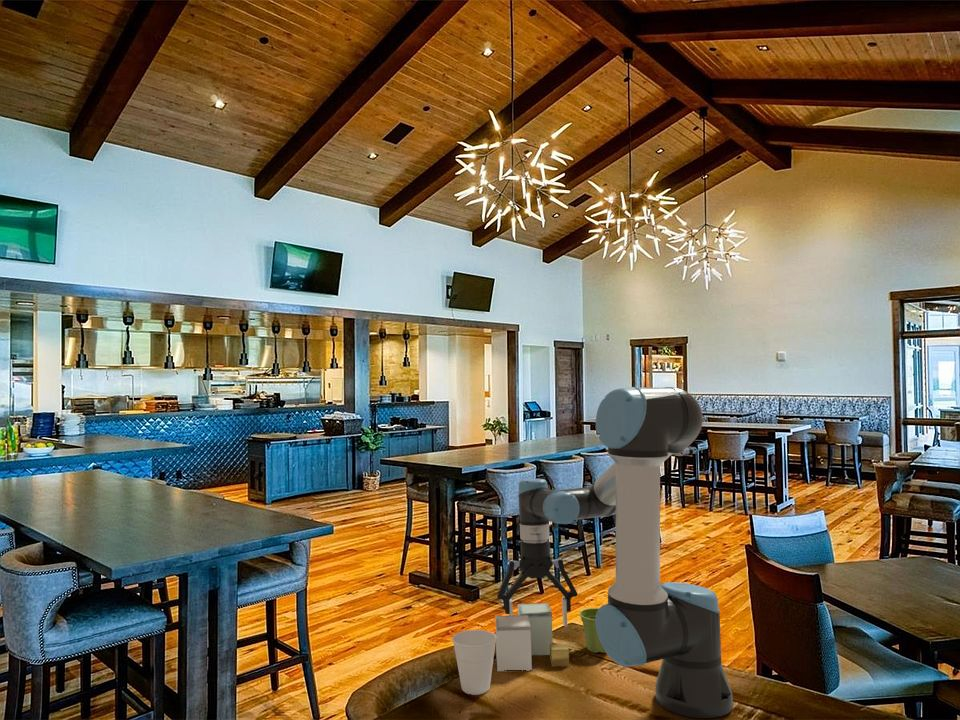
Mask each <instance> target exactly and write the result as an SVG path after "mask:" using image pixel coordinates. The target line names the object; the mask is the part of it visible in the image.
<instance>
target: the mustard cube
mask: <svg viewBox="0 0 960 720" xmlns="http://www.w3.org/2000/svg"><path fill="white" fill-rule="evenodd" d="M569 651H570V650H569V646H568V644H567V643H566V642H553V643H550V655H549V659H550V660H551V661H550V663H551V667H552V666H561V667H570V652H569Z"/></svg>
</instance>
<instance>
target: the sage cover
mask: <svg viewBox="0 0 960 720" xmlns="http://www.w3.org/2000/svg"><path fill="white" fill-rule="evenodd" d="M552 613H553V612H552V610H551V606H550V605H549V603H547V602H546V603H545V602H541V603H517V615H528V618H529V622H530V627H531V656H550V643H554V642H553V640H554V637H553V614H552Z"/></svg>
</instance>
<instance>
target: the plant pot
mask: <svg viewBox="0 0 960 720" xmlns="http://www.w3.org/2000/svg"><path fill="white" fill-rule="evenodd" d="M599 608H600V607H593V608H592V607H590V608H584V609H581V610H580V611H579V613H578V615H579V617H580V618H581V622H582V626H583V633H584V638H585V639H584V640H585V645H586V649H587V651H590V652H591V653H595V654H596V653H602V654H605V653H606V652H605V650H604V648H603V646H602V645H601V643H600V640H599V637H598V634H597V630H596V624H595V618H596V613H597V611H598V610H599ZM606 654H607V653H606Z"/></svg>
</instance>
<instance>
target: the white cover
mask: <svg viewBox="0 0 960 720" xmlns="http://www.w3.org/2000/svg"><path fill="white" fill-rule="evenodd" d="M494 617H495V635H496V636H497V640H496V643H495V649H496V652H495V653H496V654H495V656H496V669H497V672H507V671H506V670H522V671H521V672H524V671H523V670H526V671H529V672H531V671H530V670H533V665H532V664H533V663H532V661H533V660H532V655H531V627H530V622H529V618H528V615H518V614H517V615H516V614H515V615H513V616H509V615H495V616H494ZM504 670H505V671H504ZM526 671H525V672H526Z"/></svg>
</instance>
